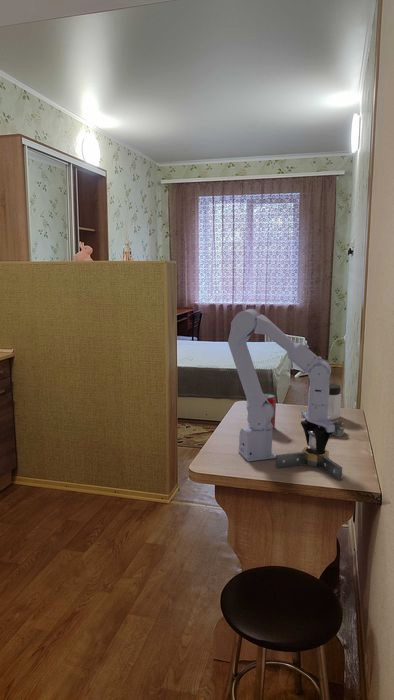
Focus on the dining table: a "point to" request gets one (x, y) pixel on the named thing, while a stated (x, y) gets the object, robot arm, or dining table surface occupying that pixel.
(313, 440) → the pin
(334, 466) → the hinge
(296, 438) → the dining table surface
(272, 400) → the soda can
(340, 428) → the egg carton
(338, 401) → the jar
